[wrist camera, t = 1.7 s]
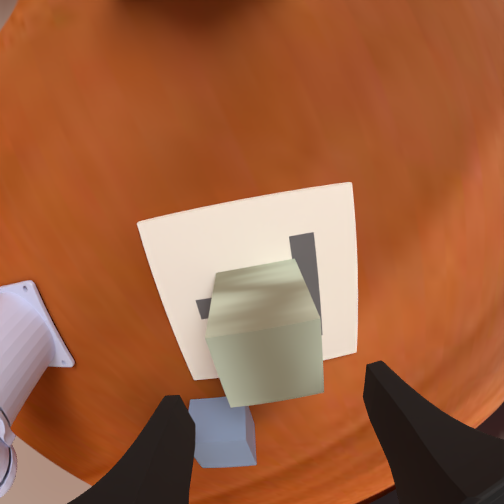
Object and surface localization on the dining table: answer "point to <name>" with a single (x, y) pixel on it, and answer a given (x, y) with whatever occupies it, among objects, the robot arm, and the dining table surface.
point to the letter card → (257, 260)
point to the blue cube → (223, 433)
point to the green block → (265, 334)
